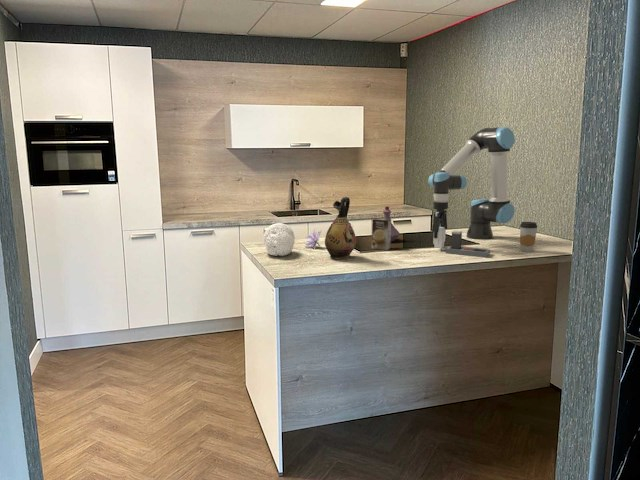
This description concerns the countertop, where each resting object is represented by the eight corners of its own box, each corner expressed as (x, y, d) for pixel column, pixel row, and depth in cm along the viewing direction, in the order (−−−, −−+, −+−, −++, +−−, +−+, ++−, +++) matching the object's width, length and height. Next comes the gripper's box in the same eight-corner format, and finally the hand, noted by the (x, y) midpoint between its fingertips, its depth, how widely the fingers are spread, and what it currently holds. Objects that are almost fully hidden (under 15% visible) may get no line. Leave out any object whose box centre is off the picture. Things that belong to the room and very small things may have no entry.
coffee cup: (534, 250, 268) (536, 222, 265) (536, 253, 260) (538, 224, 257) (518, 249, 270) (519, 221, 268) (518, 252, 263) (520, 223, 260)
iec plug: (436, 246, 276) (437, 226, 274) (443, 247, 274) (444, 227, 272) (434, 247, 273) (435, 227, 271) (441, 248, 271) (442, 228, 269)
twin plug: (453, 251, 262) (454, 230, 260) (460, 252, 260) (461, 231, 258) (450, 252, 258) (451, 231, 256) (458, 253, 256) (459, 232, 254)
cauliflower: (256, 235, 267) (273, 212, 260) (284, 247, 274) (301, 226, 267) (258, 258, 251) (275, 234, 244) (287, 271, 258) (305, 248, 251)
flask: (405, 242, 291) (406, 207, 287) (378, 243, 287) (378, 208, 283) (394, 237, 306) (394, 204, 303) (368, 238, 302) (368, 205, 299)
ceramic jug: (346, 262, 242) (346, 199, 236) (319, 258, 250) (318, 197, 244) (362, 255, 256) (363, 196, 250) (336, 252, 264) (336, 195, 258)
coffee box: (370, 248, 273) (371, 219, 270) (374, 246, 278) (375, 217, 276) (387, 250, 269) (387, 220, 266) (390, 248, 275) (391, 218, 272)
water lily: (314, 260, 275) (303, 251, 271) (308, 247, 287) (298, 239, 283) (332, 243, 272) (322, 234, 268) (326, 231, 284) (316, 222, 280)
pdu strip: (443, 250, 267) (443, 243, 266) (490, 255, 255) (490, 248, 254) (437, 253, 260) (438, 246, 259) (485, 258, 247) (486, 251, 247)
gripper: (440, 199, 280) (439, 238, 284) (426, 203, 261) (425, 245, 265) (454, 199, 276) (452, 239, 280) (440, 203, 257) (439, 246, 261)
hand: (439, 242), depth 273 cm, fingers open, 10 cm apart
